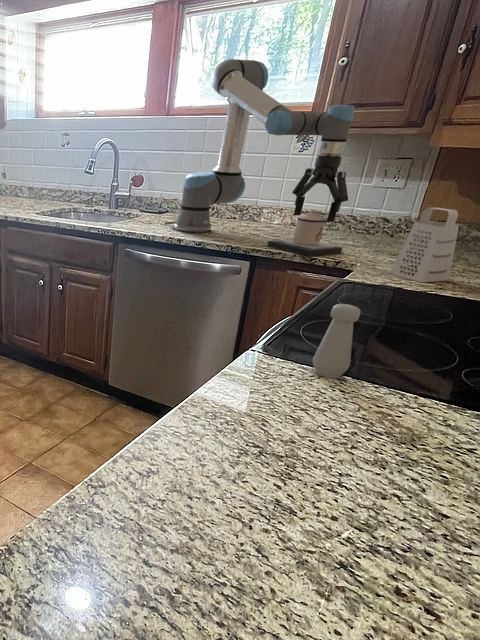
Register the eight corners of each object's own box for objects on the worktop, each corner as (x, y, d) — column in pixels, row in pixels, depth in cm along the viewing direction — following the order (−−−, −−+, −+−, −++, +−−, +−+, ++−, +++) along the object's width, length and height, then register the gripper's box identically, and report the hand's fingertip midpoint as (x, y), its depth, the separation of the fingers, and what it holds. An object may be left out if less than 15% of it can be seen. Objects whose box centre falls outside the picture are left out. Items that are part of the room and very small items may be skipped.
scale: (267, 246, 197) (268, 239, 196) (297, 243, 203) (299, 236, 202) (308, 256, 182) (310, 249, 181) (340, 253, 188) (342, 246, 187)
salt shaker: (333, 367, 98) (353, 300, 93) (353, 380, 93) (375, 311, 88) (303, 367, 98) (321, 300, 93) (321, 380, 93) (341, 311, 87)
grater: (422, 282, 153) (447, 212, 145) (388, 273, 162) (410, 206, 154) (448, 280, 156) (474, 211, 148) (414, 271, 165) (436, 205, 157)
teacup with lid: (320, 246, 186) (329, 213, 181) (291, 244, 189) (299, 210, 184) (318, 240, 195) (327, 208, 190) (291, 238, 199) (299, 206, 194)
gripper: (291, 152, 188) (276, 213, 197) (356, 157, 167) (337, 225, 176) (306, 152, 191) (291, 212, 200) (372, 157, 170) (352, 223, 179)
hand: (313, 218), depth 188 cm, fingers open, 13 cm apart
